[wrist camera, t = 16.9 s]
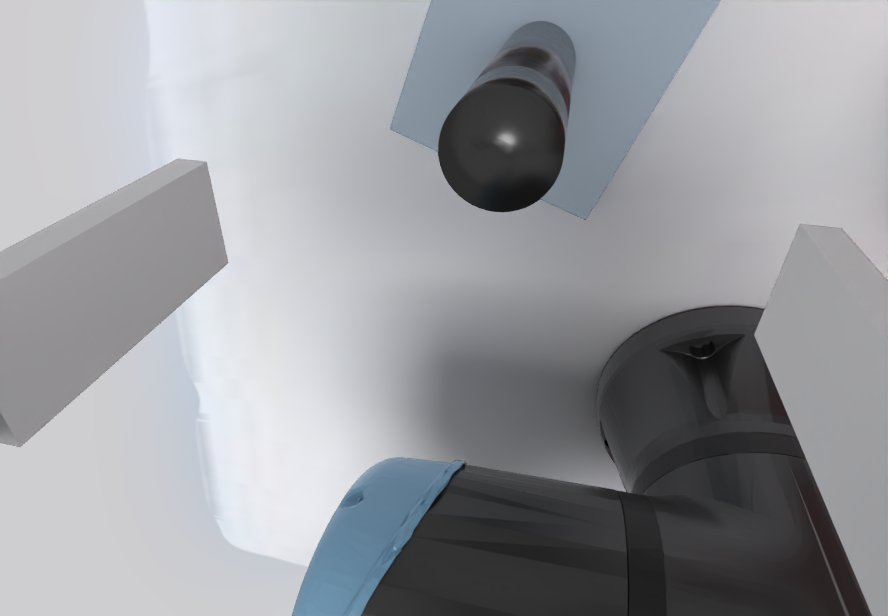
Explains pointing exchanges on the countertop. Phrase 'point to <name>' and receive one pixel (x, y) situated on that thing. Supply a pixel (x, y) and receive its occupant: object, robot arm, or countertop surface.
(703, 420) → the robot arm
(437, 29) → the mat
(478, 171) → the cylinder
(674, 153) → the countertop surface
